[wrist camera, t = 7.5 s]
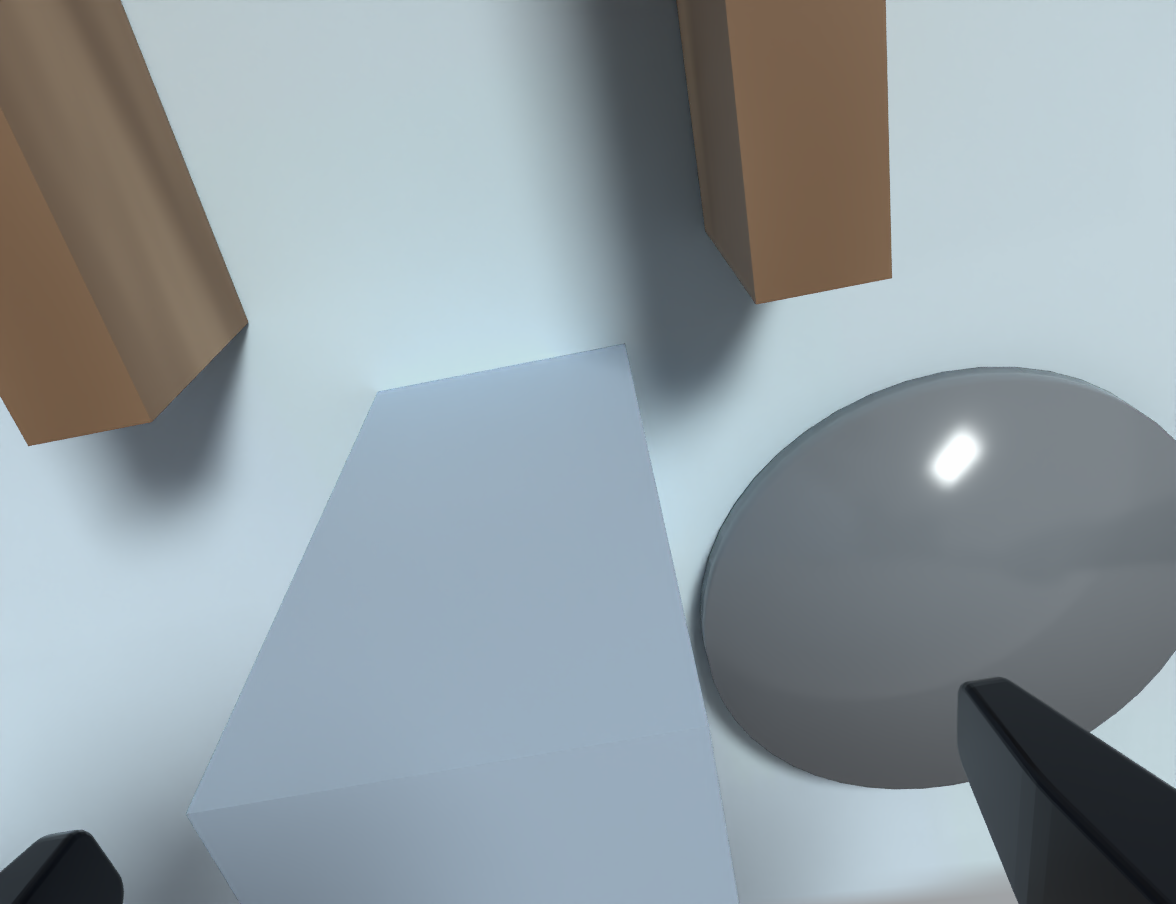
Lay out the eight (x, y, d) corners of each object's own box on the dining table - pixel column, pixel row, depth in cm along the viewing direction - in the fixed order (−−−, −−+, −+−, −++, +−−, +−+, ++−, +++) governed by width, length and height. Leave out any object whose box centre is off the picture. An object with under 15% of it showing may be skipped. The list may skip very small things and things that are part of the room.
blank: (625, 344, 13) (709, 725, 6) (662, 551, 15) (761, 1029, 8) (377, 391, 13) (186, 812, 6) (444, 590, 15) (352, 1089, 8)
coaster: (1228, 318, 13) (1255, 331, 13) (1158, 726, 18) (1177, 748, 17) (667, 423, 14) (672, 439, 13) (728, 796, 18) (734, 820, 18)
